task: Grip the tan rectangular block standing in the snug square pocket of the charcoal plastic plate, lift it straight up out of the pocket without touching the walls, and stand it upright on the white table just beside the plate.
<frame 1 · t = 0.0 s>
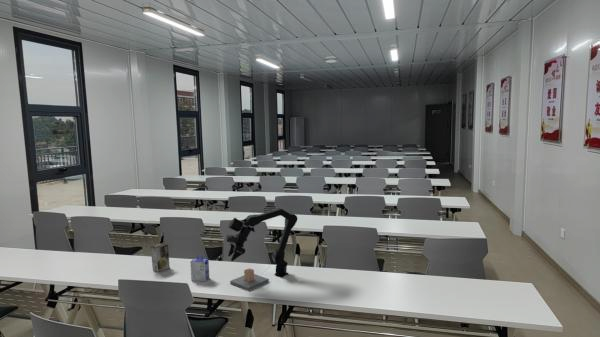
hand: (230, 258, 231), 15 cm above the table, tool tilted 35°, fingers open, 9 cm apart
ink cartridge box: (200, 279, 239), on the table
coffee box: (161, 269, 258), on the table
tan rectangular block: (249, 276, 231), in the pocket plate
pocket plate: (249, 282, 232), on the table
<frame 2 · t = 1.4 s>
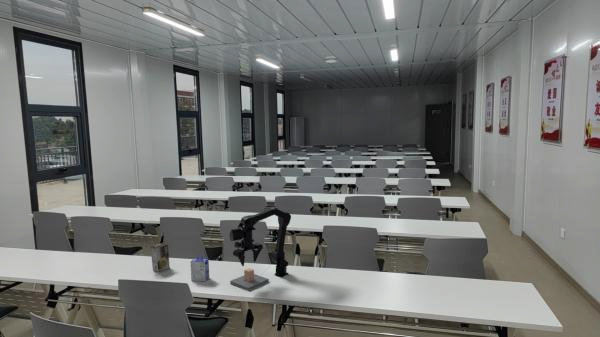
hand: (248, 263, 230), 12 cm above the table, tool pointing down, fingers open, 9 cm apart
nothing on the table moved.
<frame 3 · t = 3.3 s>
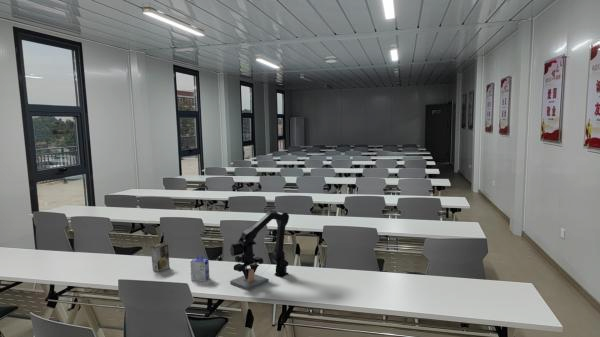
hand: (249, 277, 231), 3 cm above the table, tool pointing down, fingers closed on tan rectangular block, 4 cm apart
tan rectangular block: (249, 276, 231), in the pocket plate, touching gripper
everything else where it was.
when the fingers open (4 cm above the table, at t = 9.8 s): tan rectangular block stays where it is, on the table.
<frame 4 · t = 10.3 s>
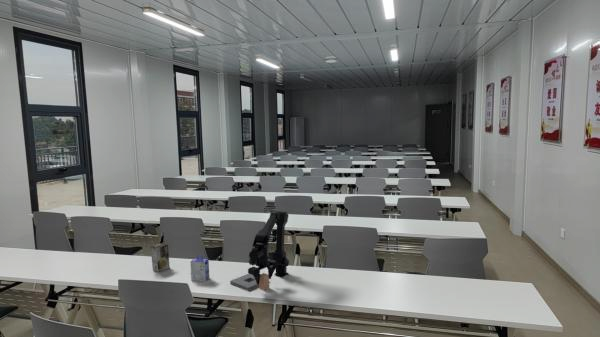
hand: (263, 281, 223), 4 cm above the table, tool pointing down, fingers open, 9 cm apart
tan rectangular block: (263, 281, 223), on the table
everything else where it was.
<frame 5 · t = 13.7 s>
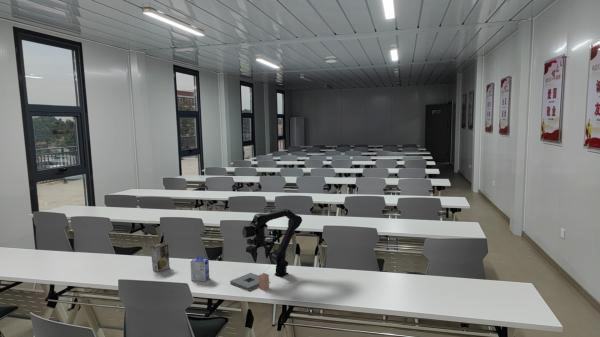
hand: (261, 260, 235), 12 cm above the table, tool pointing down, fingers open, 9 cm apart
nothing on the table moved.
at the end: tan rectangular block inside the target area (0.3 cm from its centre), on the table; tan rectangular block tilted 0°; the gripper is holding nothing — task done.
